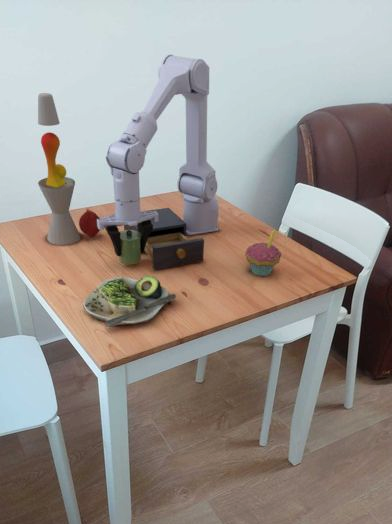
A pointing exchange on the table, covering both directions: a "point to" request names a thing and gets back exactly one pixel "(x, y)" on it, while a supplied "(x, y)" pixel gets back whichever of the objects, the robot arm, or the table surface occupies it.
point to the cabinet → (164, 223)
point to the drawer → (173, 250)
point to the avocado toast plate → (127, 300)
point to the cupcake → (263, 257)
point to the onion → (89, 223)
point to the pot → (130, 247)
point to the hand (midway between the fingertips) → (129, 252)
